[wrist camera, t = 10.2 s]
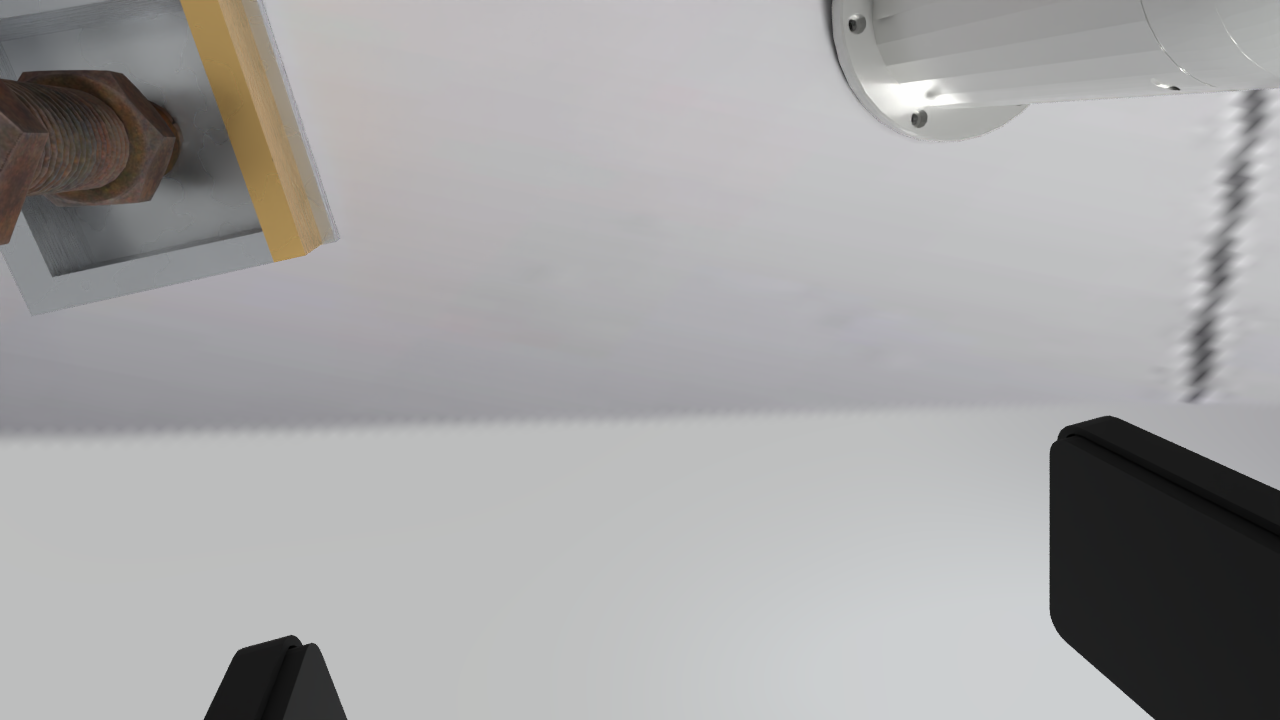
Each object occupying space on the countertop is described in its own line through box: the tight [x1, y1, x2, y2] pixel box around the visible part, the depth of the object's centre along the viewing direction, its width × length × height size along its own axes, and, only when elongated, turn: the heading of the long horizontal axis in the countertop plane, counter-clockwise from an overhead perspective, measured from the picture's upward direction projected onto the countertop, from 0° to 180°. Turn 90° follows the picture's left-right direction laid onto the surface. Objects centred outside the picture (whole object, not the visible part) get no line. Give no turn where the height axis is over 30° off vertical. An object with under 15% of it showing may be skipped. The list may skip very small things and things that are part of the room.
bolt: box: [0, 70, 184, 245], centre depth 23 cm, size 6×5×15 cm
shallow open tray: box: [0, 0, 340, 316], centre depth 29 cm, size 11×11×4 cm
